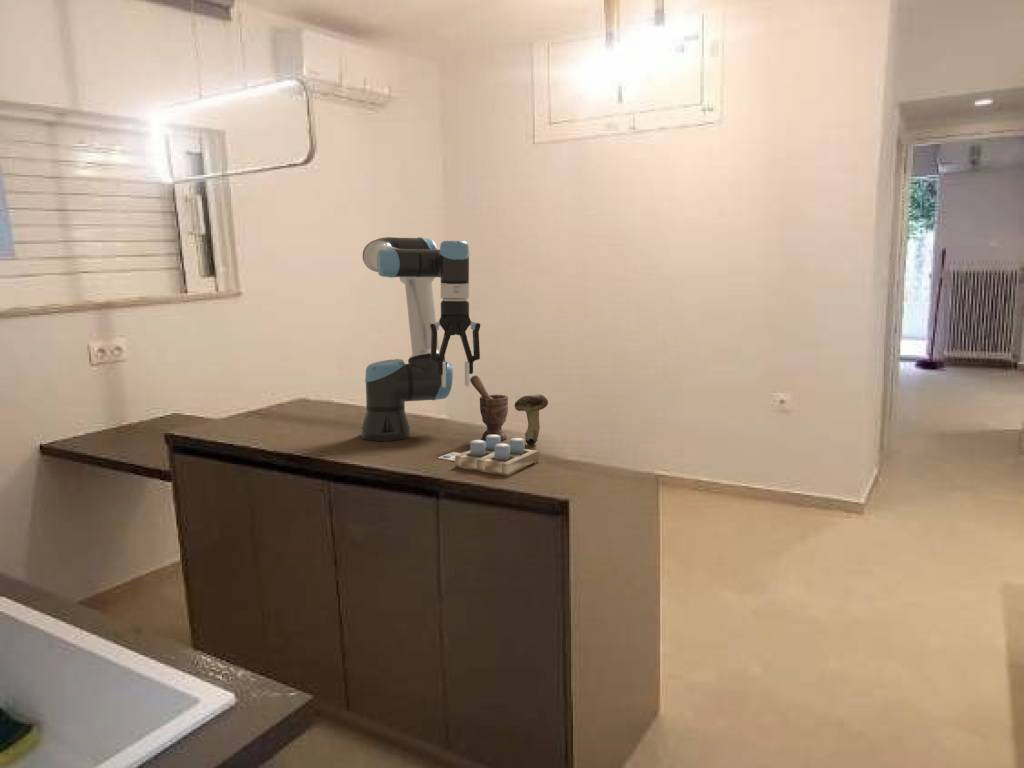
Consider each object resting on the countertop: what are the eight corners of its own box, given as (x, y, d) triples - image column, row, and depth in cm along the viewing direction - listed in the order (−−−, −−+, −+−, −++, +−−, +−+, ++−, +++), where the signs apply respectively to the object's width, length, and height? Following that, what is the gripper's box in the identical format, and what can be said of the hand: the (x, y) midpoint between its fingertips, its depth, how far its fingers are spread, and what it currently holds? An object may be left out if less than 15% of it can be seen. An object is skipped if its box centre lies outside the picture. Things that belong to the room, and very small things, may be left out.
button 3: (491, 459, 183) (491, 445, 183) (499, 456, 187) (499, 442, 186) (504, 461, 181) (504, 447, 181) (512, 458, 185) (512, 444, 184)
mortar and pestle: (486, 445, 211) (486, 378, 208) (466, 440, 216) (466, 375, 213) (513, 438, 219) (513, 374, 216) (493, 434, 225) (493, 371, 222)
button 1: (467, 455, 187) (467, 442, 187) (475, 452, 191) (475, 439, 190) (480, 457, 185) (480, 443, 185) (488, 454, 189) (488, 440, 188)
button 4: (506, 453, 190) (506, 439, 189) (514, 450, 193) (514, 437, 193) (519, 455, 188) (519, 441, 187) (527, 452, 191) (527, 438, 191)
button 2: (483, 449, 194) (483, 436, 193) (490, 446, 197) (490, 433, 196) (495, 451, 192) (495, 438, 191) (503, 448, 195) (503, 435, 194)
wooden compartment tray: (455, 466, 187) (455, 455, 186) (488, 453, 200) (488, 443, 200) (507, 476, 179) (507, 464, 178) (538, 461, 192) (538, 450, 192)
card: (437, 458, 195) (437, 457, 195) (452, 453, 201) (452, 451, 201) (459, 462, 192) (459, 460, 192) (473, 456, 198) (473, 455, 198)
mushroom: (553, 444, 212) (554, 394, 209) (534, 450, 205) (535, 398, 203) (529, 439, 218) (529, 391, 215) (510, 444, 211) (510, 394, 209)
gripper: (421, 300, 184) (422, 389, 188) (492, 300, 189) (492, 387, 192) (417, 299, 191) (419, 385, 195) (486, 299, 196) (486, 383, 199)
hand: (455, 386), depth 193 cm, fingers open, 6 cm apart
